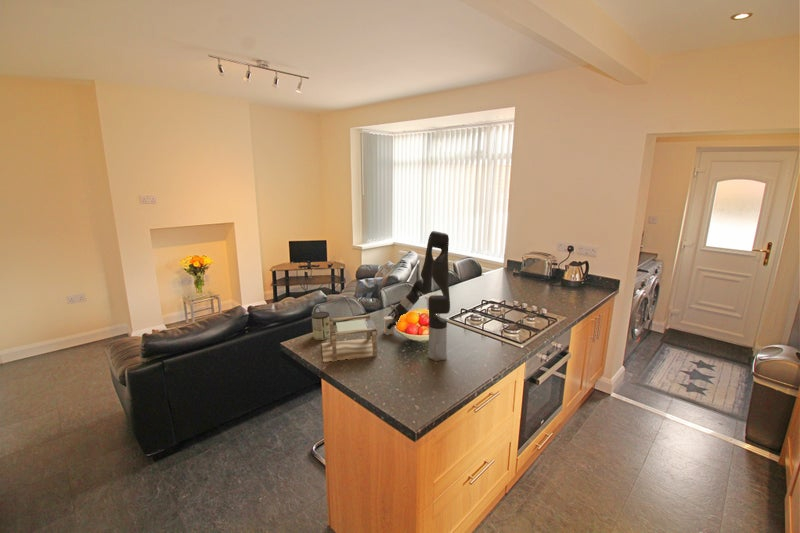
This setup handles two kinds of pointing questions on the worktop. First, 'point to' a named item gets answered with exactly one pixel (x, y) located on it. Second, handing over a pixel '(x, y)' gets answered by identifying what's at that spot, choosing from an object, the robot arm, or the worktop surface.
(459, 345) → the worktop surface
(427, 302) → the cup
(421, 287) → the robot arm
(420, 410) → the worktop surface
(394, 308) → the food container
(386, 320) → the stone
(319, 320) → the coffee can
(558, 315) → the worktop surface
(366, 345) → the trapdoor frame
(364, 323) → the trapdoor
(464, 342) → the worktop surface
